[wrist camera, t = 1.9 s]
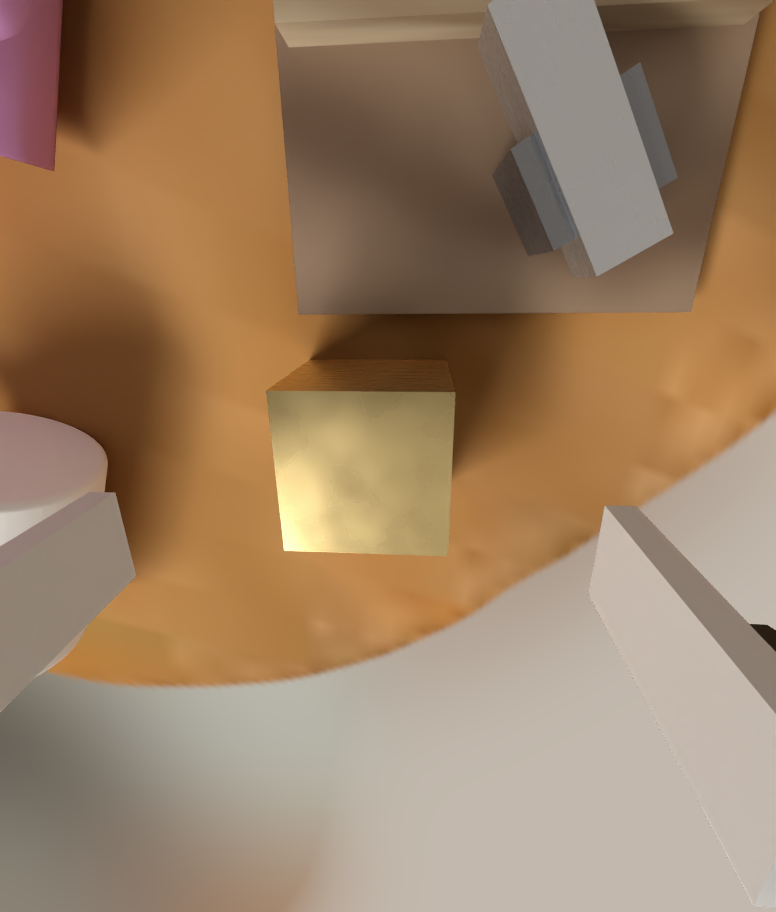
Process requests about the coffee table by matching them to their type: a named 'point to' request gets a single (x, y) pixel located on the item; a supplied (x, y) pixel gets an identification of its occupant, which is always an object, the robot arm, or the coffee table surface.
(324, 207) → the framed base plate
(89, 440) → the mug
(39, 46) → the teapot
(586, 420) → the coffee table surface
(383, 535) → the gold cube
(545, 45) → the shafts
